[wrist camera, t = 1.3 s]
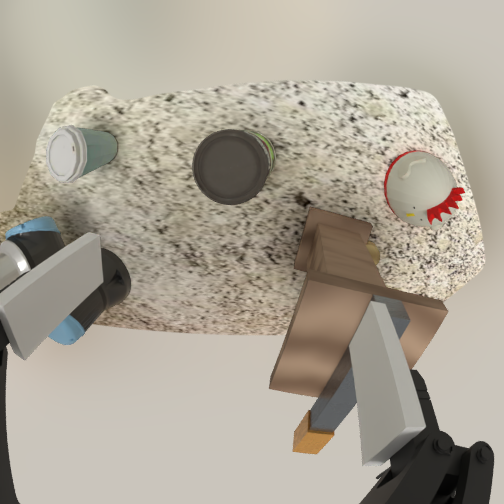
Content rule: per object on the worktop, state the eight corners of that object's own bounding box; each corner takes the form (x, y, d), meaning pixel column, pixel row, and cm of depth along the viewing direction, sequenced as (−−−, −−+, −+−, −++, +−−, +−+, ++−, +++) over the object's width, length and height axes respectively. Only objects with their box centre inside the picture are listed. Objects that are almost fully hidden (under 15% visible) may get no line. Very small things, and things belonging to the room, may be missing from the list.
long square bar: (317, 434, 33) (316, 454, 30) (294, 431, 34) (292, 451, 31) (403, 301, 23) (413, 323, 20) (371, 293, 23) (379, 317, 20)
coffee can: (255, 118, 46) (239, 114, 33) (286, 166, 49) (282, 180, 36) (208, 150, 50) (177, 158, 37) (239, 195, 52) (219, 218, 40)
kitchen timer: (369, 178, 47) (395, 198, 34) (422, 136, 42) (463, 142, 29) (408, 235, 50) (438, 270, 37) (456, 195, 45) (498, 219, 31)
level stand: (363, 287, 56) (396, 405, 29) (284, 268, 57) (268, 388, 30) (388, 220, 50) (461, 314, 23) (303, 196, 51) (308, 279, 24)
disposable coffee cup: (94, 175, 55) (47, 192, 42) (84, 130, 51) (36, 138, 37) (130, 163, 53) (84, 178, 39) (121, 114, 49) (72, 116, 35)
